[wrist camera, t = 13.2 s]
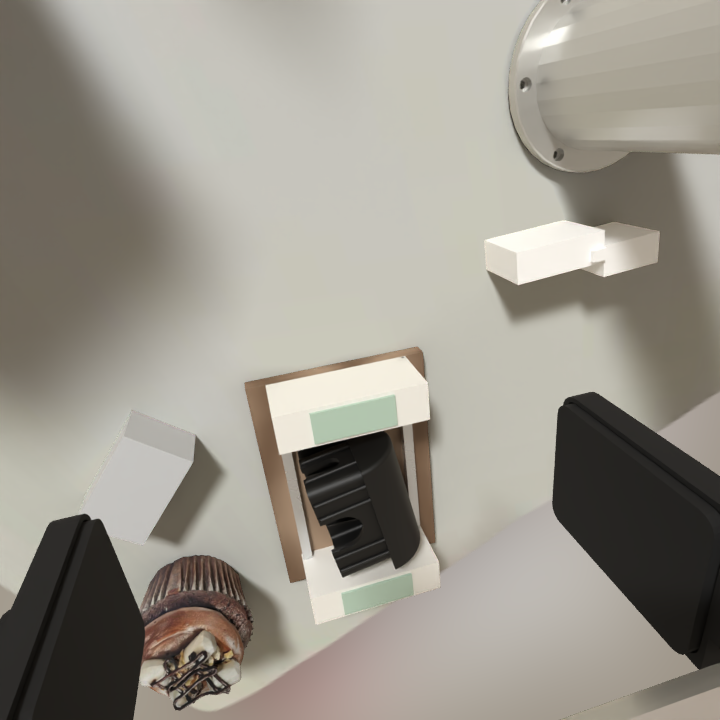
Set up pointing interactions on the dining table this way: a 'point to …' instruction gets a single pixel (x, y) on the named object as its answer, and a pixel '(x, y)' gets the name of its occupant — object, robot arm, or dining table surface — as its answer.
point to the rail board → (278, 480)
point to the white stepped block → (570, 250)
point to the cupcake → (194, 630)
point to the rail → (296, 499)
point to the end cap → (361, 501)
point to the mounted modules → (344, 421)
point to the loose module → (139, 477)
